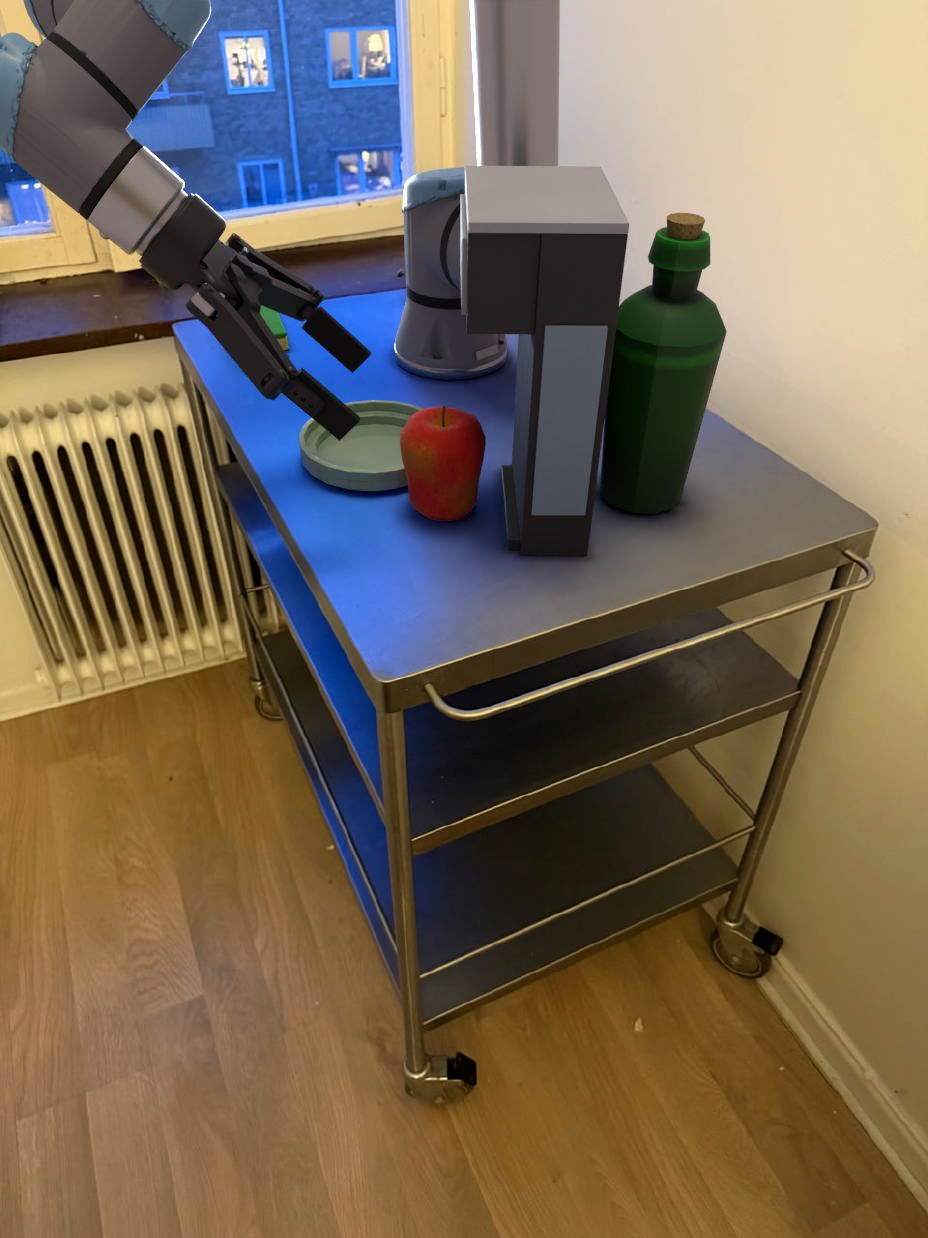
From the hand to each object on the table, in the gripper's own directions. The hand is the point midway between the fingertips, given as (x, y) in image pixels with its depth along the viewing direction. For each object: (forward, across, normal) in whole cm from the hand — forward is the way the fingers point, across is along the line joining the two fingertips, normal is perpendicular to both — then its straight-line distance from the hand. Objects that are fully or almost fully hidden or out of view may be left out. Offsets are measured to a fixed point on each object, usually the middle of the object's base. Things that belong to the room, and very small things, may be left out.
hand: (356, 394), depth 83 cm
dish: (+9, -10, -9) cm, 17 cm away
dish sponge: (-4, -45, -22) cm, 50 cm away
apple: (+15, 0, -4) cm, 16 cm away
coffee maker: (+20, 0, +2) cm, 21 cm away
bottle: (+30, -3, +11) cm, 32 cm away
